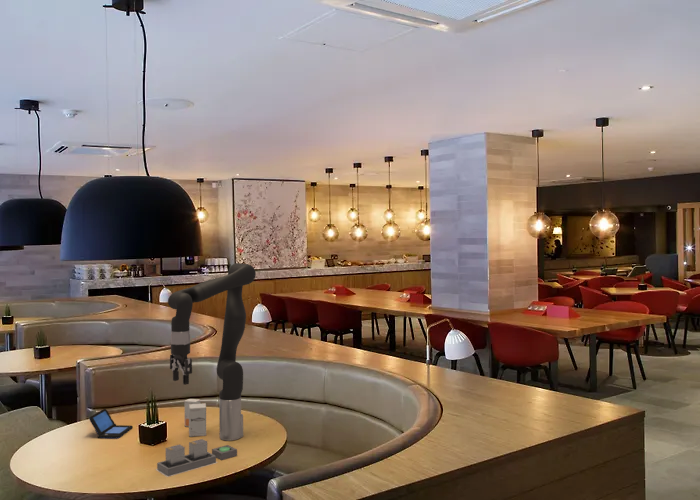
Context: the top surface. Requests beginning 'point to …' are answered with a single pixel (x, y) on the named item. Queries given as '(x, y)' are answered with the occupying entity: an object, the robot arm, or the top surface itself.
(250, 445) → the top surface
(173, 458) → the billet
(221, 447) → the button
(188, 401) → the skincare box
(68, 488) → the top surface
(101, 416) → the handheld game console
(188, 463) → the pocket tray
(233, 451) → the button housing
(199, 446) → the seated billet
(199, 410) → the supplement box
